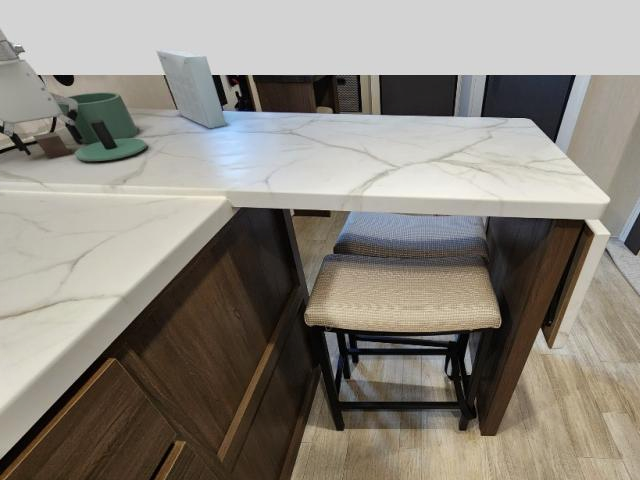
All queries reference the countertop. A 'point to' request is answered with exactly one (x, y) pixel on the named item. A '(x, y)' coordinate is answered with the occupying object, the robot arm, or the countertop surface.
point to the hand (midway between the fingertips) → (54, 148)
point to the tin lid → (108, 145)
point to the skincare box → (192, 87)
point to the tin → (101, 115)
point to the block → (52, 145)
